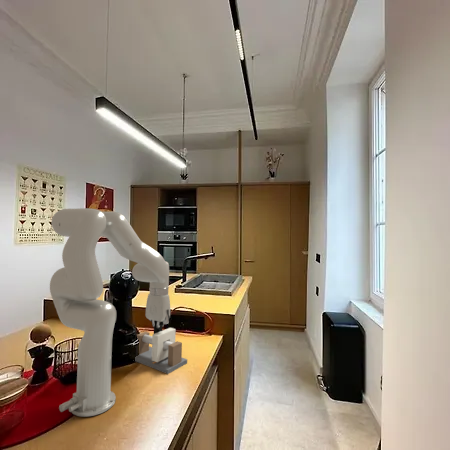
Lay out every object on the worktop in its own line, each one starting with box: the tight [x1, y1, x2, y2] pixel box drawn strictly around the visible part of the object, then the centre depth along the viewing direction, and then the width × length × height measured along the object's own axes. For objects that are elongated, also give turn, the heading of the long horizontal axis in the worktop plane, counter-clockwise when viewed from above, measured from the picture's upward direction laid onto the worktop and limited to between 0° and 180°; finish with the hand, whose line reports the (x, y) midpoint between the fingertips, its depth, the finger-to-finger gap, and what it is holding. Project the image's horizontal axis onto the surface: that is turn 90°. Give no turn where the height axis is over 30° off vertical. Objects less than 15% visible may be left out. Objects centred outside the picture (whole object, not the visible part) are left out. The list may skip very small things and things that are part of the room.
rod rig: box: [134, 331, 188, 375], centre depth 119 cm, size 11×22×9 cm, turn 57°
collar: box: [151, 327, 177, 362], centre depth 117 cm, size 10×3×10 cm, turn 147°
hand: (157, 336), depth 119 cm, fingers closed
